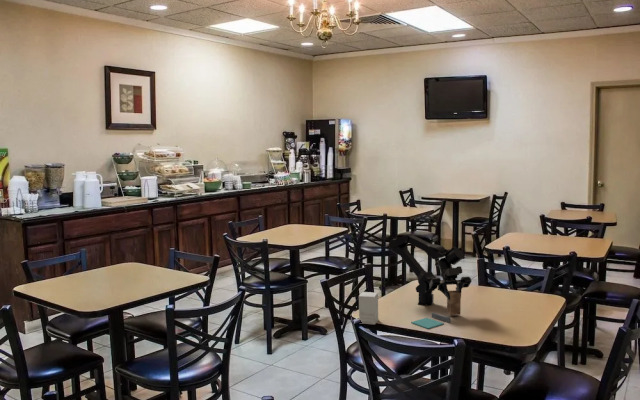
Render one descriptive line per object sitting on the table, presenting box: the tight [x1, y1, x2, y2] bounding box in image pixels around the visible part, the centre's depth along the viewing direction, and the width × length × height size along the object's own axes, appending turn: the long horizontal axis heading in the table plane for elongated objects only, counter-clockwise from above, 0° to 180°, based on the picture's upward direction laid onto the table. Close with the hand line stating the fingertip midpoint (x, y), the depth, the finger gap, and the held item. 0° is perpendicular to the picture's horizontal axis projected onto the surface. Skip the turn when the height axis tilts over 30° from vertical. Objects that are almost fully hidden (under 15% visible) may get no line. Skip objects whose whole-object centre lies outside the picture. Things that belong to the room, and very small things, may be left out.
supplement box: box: [358, 291, 379, 325], centre depth 240 cm, size 7×7×13 cm
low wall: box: [431, 312, 451, 324], centre depth 242 cm, size 10×1×2 cm, turn 36°
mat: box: [410, 317, 445, 330], centre depth 237 cm, size 10×10×1 cm
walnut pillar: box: [446, 289, 462, 316], centre depth 246 cm, size 5×5×10 cm
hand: (454, 299), depth 245 cm, fingers closed on walnut pillar, 5 cm apart
